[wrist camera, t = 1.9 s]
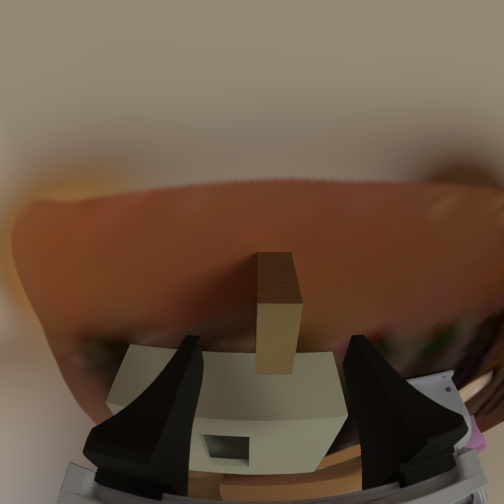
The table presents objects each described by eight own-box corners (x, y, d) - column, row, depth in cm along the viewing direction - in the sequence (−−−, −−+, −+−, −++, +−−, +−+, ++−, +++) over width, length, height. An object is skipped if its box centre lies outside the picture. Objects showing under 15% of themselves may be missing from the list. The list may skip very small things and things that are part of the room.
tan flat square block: (291, 252, 17) (302, 303, 12) (284, 317, 19) (291, 374, 15) (257, 251, 17) (257, 303, 12) (255, 317, 19) (255, 374, 15)
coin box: (332, 351, 20) (348, 415, 15) (308, 424, 26) (313, 471, 20) (130, 344, 21) (105, 402, 15) (160, 417, 26) (150, 463, 21)
